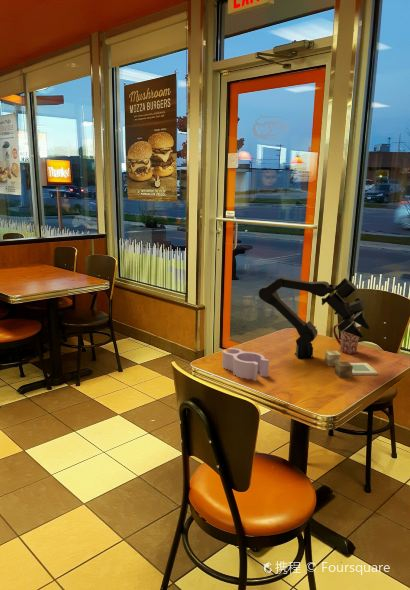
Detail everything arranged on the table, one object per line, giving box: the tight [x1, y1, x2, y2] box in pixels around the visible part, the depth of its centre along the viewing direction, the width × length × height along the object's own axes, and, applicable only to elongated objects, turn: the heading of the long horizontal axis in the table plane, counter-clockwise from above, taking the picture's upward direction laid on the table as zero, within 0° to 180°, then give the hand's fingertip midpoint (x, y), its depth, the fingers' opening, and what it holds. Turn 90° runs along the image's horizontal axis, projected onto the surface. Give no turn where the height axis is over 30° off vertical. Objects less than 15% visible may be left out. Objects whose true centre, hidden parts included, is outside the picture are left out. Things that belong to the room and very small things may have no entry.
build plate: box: [349, 362, 379, 376], centre depth 187 cm, size 11×11×1 cm
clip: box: [221, 347, 270, 382], centre depth 182 cm, size 20×12×7 cm, turn 43°
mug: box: [332, 322, 362, 355], centre depth 209 cm, size 13×9×14 cm
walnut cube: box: [334, 361, 353, 379], centre depth 180 cm, size 5×5×5 cm
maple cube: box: [324, 350, 342, 367], centre depth 193 cm, size 5×5×5 cm
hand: (365, 332), depth 187 cm, fingers open, 9 cm apart
